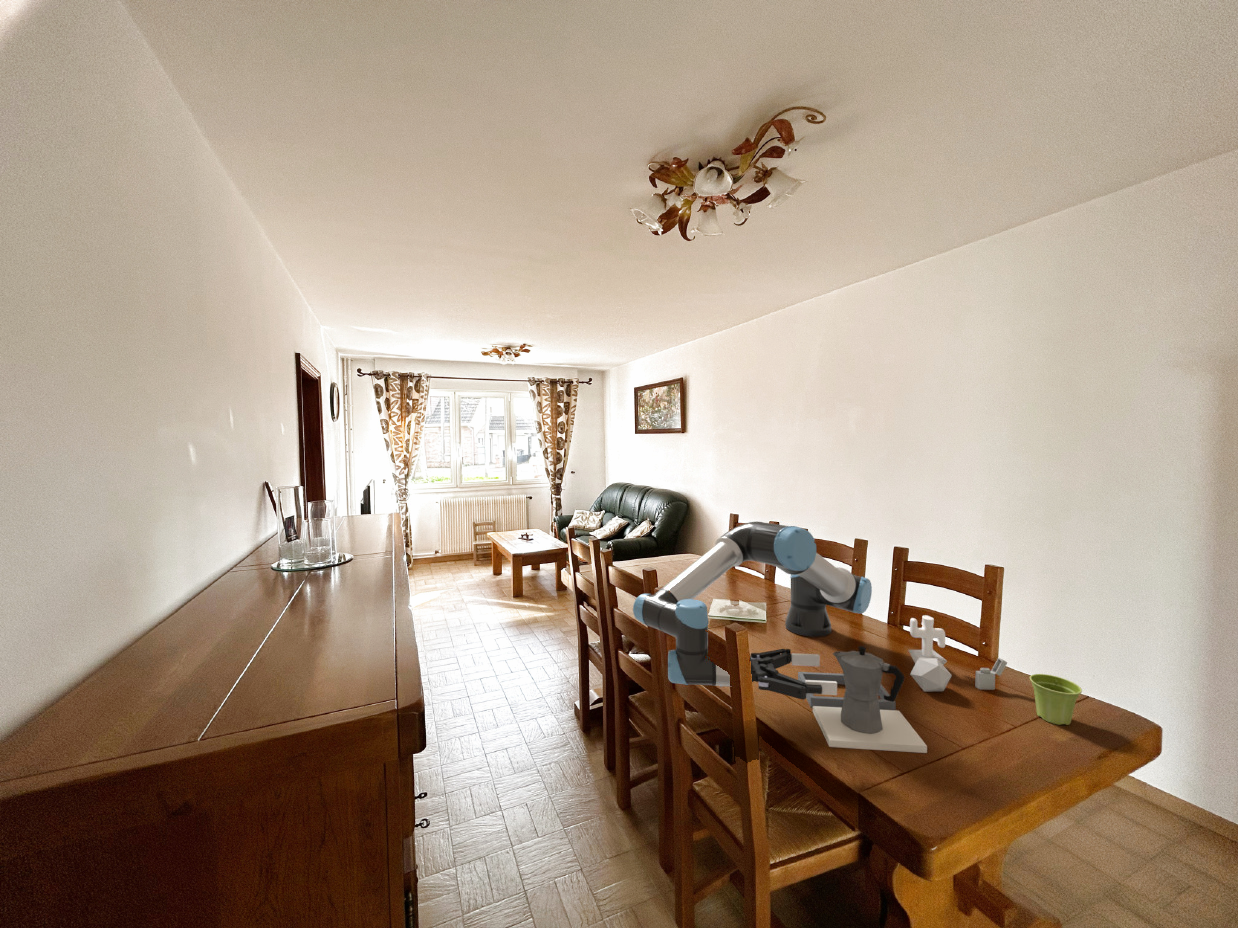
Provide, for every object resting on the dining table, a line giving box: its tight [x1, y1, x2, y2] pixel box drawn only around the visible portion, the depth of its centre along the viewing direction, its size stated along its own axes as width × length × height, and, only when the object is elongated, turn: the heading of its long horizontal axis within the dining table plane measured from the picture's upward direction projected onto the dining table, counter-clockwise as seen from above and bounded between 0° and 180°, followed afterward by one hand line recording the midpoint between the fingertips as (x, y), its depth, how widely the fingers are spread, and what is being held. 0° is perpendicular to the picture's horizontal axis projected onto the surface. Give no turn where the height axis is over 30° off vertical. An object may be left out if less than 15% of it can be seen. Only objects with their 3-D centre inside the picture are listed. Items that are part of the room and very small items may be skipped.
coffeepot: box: [832, 645, 905, 734], centre depth 114 cm, size 15×9×18 cm, turn 45°
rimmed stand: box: [797, 671, 897, 710], centre depth 131 cm, size 14×20×2 cm
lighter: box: [974, 657, 1008, 691], centre depth 133 cm, size 7×2×8 cm, turn 87°
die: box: [909, 658, 952, 693], centre depth 134 cm, size 8×9×10 cm
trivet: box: [812, 706, 928, 754], centre depth 115 cm, size 14×20×2 cm
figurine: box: [908, 614, 948, 666], centre depth 146 cm, size 7×9×15 cm
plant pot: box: [1029, 673, 1083, 726], centre depth 119 cm, size 9×9×9 cm
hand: (827, 673), depth 115 cm, fingers open, 13 cm apart
